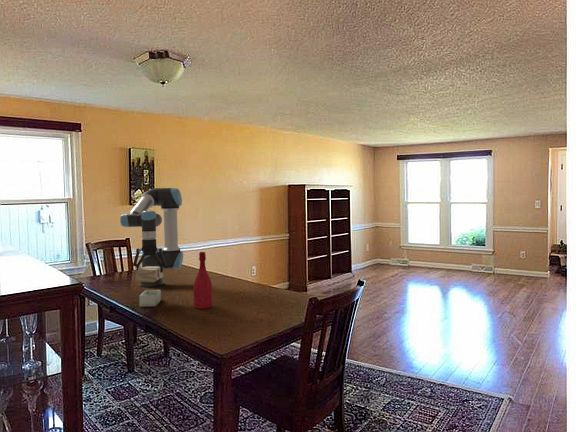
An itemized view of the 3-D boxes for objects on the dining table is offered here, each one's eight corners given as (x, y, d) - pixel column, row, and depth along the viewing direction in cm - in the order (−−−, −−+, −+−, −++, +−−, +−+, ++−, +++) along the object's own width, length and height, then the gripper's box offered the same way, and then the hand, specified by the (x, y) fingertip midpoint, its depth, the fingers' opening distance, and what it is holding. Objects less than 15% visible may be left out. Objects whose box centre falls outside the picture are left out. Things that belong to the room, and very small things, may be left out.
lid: (146, 276, 246) (146, 266, 245) (163, 276, 245) (163, 266, 245) (135, 281, 231) (135, 270, 230) (154, 282, 230) (153, 271, 230)
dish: (145, 300, 245) (145, 290, 245) (160, 300, 245) (160, 289, 245) (139, 306, 232) (139, 295, 232) (155, 306, 232) (155, 295, 232)
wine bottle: (216, 306, 232) (215, 251, 230) (203, 310, 223) (203, 253, 221) (202, 303, 237) (201, 250, 235) (189, 308, 228) (188, 252, 226)
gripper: (125, 239, 232) (126, 280, 233) (168, 239, 234) (169, 279, 235) (130, 238, 240) (130, 277, 241) (171, 237, 241) (172, 276, 242)
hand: (149, 278), depth 238 cm, fingers closed on lid, 10 cm apart
